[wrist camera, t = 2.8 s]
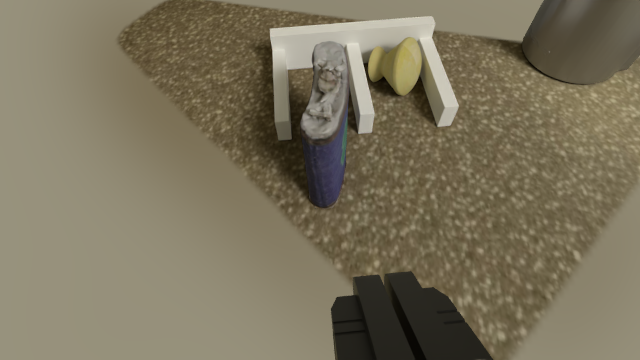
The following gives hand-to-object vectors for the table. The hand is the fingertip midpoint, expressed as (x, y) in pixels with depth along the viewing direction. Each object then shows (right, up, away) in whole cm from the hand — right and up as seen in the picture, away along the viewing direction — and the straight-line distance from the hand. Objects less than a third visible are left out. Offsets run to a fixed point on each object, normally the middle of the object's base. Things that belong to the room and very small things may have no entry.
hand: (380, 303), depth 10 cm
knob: (+5, +13, +26) cm, 29 cm away
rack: (+2, +12, +25) cm, 28 cm away
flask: (-1, +5, +21) cm, 21 cm away
